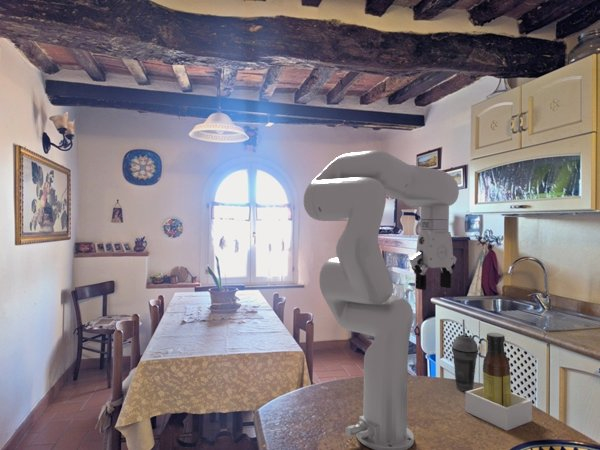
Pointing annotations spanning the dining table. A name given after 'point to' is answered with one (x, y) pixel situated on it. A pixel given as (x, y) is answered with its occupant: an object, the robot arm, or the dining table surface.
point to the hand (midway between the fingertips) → (433, 288)
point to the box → (499, 409)
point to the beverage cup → (464, 361)
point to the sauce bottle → (496, 372)
